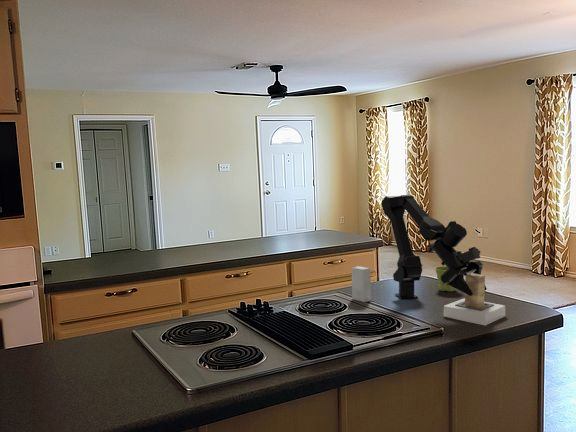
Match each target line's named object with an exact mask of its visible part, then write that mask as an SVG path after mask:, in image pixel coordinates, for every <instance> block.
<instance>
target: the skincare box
mask: <svg viewBox="0 0 576 432" xmlns="http://www.w3.org/2000/svg"><path fill="white" fill-rule="evenodd" d="M350 271H351V299H352V300H354V301H357V302H358V301H359V302H361V303H362V302H363V303H366V302H370V301H372V285H371V284H372V282H371V281H372V279H371V268H370V267H366V266H360V265H357V266H353V267H351V269H350Z"/></svg>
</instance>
